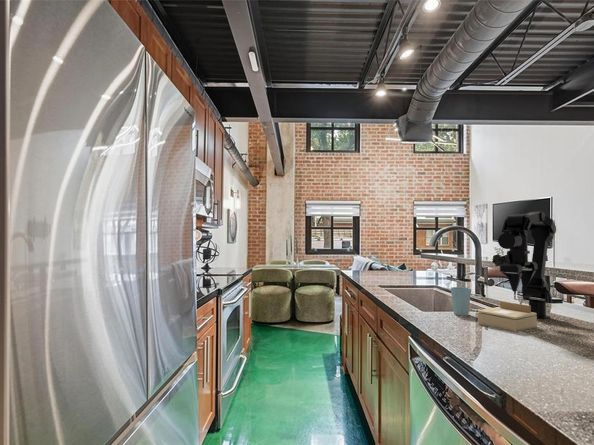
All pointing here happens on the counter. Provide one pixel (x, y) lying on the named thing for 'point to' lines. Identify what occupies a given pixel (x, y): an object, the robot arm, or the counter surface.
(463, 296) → the cup
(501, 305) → the lid
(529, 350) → the counter surface
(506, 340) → the counter surface
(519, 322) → the box
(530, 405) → the counter surface
